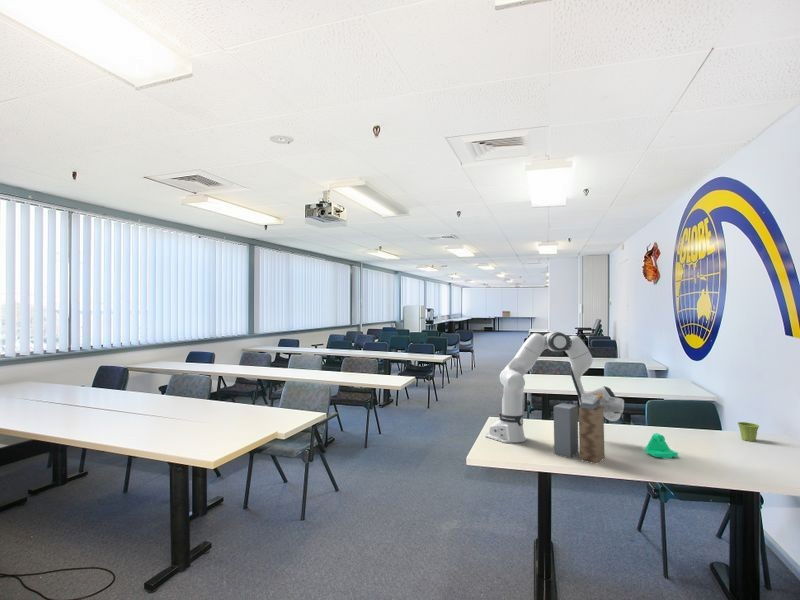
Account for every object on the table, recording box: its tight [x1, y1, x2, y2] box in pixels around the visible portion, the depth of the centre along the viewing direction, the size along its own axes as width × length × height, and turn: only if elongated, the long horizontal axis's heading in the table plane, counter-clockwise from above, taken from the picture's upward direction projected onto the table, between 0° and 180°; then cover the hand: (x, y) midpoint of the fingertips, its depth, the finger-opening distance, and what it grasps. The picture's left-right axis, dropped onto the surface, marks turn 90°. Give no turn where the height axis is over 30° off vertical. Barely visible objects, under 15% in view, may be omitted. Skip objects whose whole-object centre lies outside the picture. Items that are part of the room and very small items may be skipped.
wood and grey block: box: [580, 393, 603, 410], centre depth 210 cm, size 6×20×4 cm, turn 137°
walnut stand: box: [578, 406, 605, 464], centre depth 206 cm, size 8×11×25 cm
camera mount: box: [644, 432, 679, 459], centre depth 210 cm, size 12×8×10 cm, turn 94°
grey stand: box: [553, 402, 580, 458], centre depth 215 cm, size 8×11×24 cm
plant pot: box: [737, 421, 760, 442], centre depth 234 cm, size 9×9×9 cm
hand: (598, 395), depth 215 cm, fingers closed on wood and grey block, 3 cm apart
